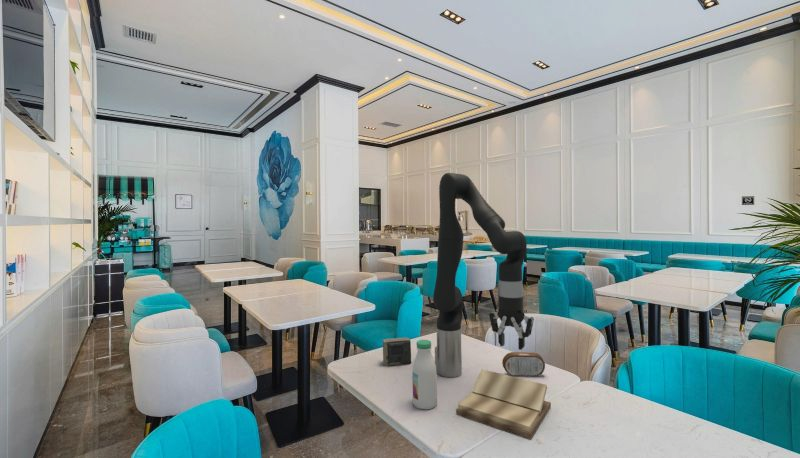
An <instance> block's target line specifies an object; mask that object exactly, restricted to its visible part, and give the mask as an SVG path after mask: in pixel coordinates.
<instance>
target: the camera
mask: <svg viewBox="0 0 800 458" xmlns="http://www.w3.org/2000/svg"><path fill="white" fill-rule="evenodd" d="M411 343H412V342H411V339H410V337H397V338H396V337H395V338H385V339H383V340H382V358H383V359H382V360H383V361H382V362H383V365H384V366H386V365H387V366H396V365H395V364H398V365H405V363H407V364H411V363H412V347H411V345H412V344H411Z"/></svg>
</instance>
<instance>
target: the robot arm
mask: <svg viewBox="0 0 800 458" xmlns="http://www.w3.org/2000/svg"><path fill="white" fill-rule="evenodd" d="M438 191H439V192H438V198H439V226H438V227H439V229H438V239H437V260H436V278H435V283H434V290H433V296H432V298H433V300H432V301H433V305H434V307H435V308H436V309H437V310H438V311H439V313H438V316H437V319H436V323H435V324H436V346H435V347H434V361H435V364H436V372H437V374H438V375H439V376H442V377H444V378H457V377H459V376H461V375H462V371H463V370H462V366H463V364H462V363H463V362H462V358H463V357H462V320H463V309H464V307H463V302H464V301H463V294H462V291H461V289H460V288H459V287H458V286H457V285H456V277H457V272H458V268H459V265H460V263H461V260H462V259H461V258H462V256H463V255H462V254H463V250H464V231H463V229H462V226H461V224H460V222H459V219H458V216H457V214H456V199H457V200H463V201H464V202H465V203H467V205H469V207H470V209H471V211H472V217H473V219H474V220H475V222H476V223H477V225H478V226H479V227H480V228H481V229H482V230H483V231H484V232H485V233H486V235H487V238H488V240H489V242H490V244H491V246H492V248H493V249H494V250H495V251H496V252H497V253H499V254H502V255H506V258H505V259H504V260H502V261H501V262H500V263H499V265H498V288H497V293H498V299H497V301H498V311H497V312H496V311H492V312H490V313H489V314H488V315H489V317H488V318H489V319H490V320H489V321H490V326H491V331H493V333H497V334H498V335H497V336H498V338H497V339H498V344H499V346H500V347H504V346H505V343H506V342H505V340H506V338H505V333H504V332H505V329H506V328H507V327H512V328H514V329H515V332H517V336H518V350H519V351H520V350H522V349H523V350H524V348H525V345H526V341H525V340H526V339H525V338H529V337H530V336H531V335H532V331H533V326H534V325H533V324H534V321H535V318H534V317H533V316H531V317H529V316H526V315H525V313H524V284H523V264H524V260H525V255H526V252H527V246H528V245H527V244H528V242H527V239H526V236H525V235H524V234H523V232H521V231H518V230H512V231H510V230H509V231H506V230H505V228H506V222H505V220H504V219H503V218H502V216H500V214H498V213H497V212H496V211H495V210H494V208H492V207H491V205H490V204H489V203H488V201H486V199H485V198H484V197H483V195H482V194H481V192H480V191H479V190H478V188H477V186H476V185H475V184H474V182H473V180H471V178H470V177H469V176H468V175H466V174H463V173H462V174H461V173H454V172H446V173H444V174H443V175H442V177H441V178H440V179H439V187H438ZM498 318H499V320H500V321H501V322H500V324H499V323H498ZM523 321H524V323H525V324H526V326H525V330H524V326H523V324H522V322H523ZM498 324H499V325H498Z"/></svg>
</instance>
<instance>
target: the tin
mask: <svg viewBox="0 0 800 458" xmlns="http://www.w3.org/2000/svg"><path fill="white" fill-rule="evenodd" d="M501 365H502V368H503V369H504V371H505V373H507V375H508V376H512V377H528V378H529V377H533V378H535V377H539V376H540V375H542V374H543V373H544V372H545V370H546V369H545V368H546V364H545V361H544V359H543V357H542V356H541V355H540V354H539V353H537V352H524V351H523V352H521V351H520V352H519V351H518V352H517V351H512V352H511V351H510V352H508V353H506V354H505V355H504V356H503V358H502V363H501Z"/></svg>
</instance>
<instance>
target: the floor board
mask: <svg viewBox="0 0 800 458" xmlns="http://www.w3.org/2000/svg"><path fill="white" fill-rule="evenodd" d="M457 405H458V407H457V408H456V409H455V415H457V416H460V417H463V418H466V419H469V420H472V421H475V422H477V423H480V424H484V425H486V426H489V427H492V428H495V429H498V430H501V431H504V432H508V433H510V434H513V435H516V436H518V437H522V438H525V439H527V438H528V440H532V438H533V436H535V434H536V431H537V430H538V428H539V427H540V425H541V423H542V422H543V420H544V419H545V417H546V416H547V414H548V412H549V410H551V408H552V407H551V406H552V405H551V401H547V400H544V402H543V406H542V410H541V414H539V412H537V411H533V410H530V409H526V408H523V407H519V406H516V405H512V404H509V403H506V402H502V401H499V400H495V399H492V398H488V397H485V396H481V395H478V394H475V393H472V392H470V393H469V394H468V395H467V396H466V397H465V398H463V399H462V400H461V401H460V402H459V403H458V404H457Z"/></svg>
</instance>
